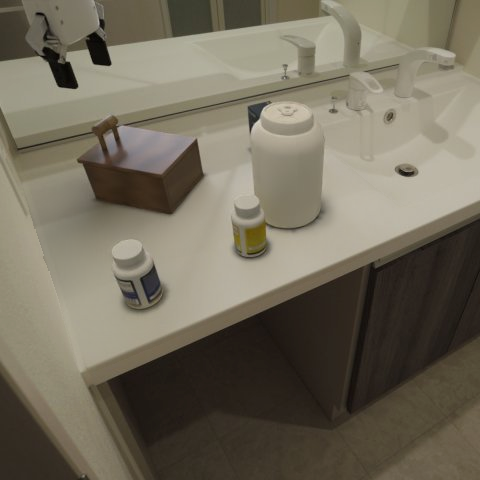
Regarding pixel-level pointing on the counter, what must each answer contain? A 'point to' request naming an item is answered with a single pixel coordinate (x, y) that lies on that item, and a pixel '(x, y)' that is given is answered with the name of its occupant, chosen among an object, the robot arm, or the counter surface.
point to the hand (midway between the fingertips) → (86, 75)
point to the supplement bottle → (249, 226)
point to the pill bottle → (136, 274)
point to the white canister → (288, 164)
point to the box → (255, 113)
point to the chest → (148, 184)
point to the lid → (136, 149)
